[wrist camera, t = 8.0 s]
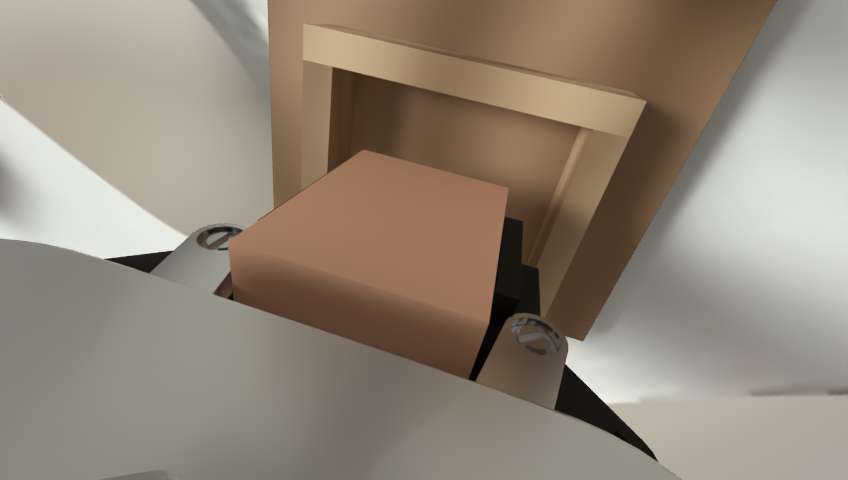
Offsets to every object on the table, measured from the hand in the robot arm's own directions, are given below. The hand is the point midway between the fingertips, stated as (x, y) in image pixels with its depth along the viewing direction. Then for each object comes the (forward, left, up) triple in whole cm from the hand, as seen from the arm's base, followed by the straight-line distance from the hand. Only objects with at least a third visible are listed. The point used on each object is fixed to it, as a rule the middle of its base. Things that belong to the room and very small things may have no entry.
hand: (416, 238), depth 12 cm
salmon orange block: (0, 0, -1) cm, 1 cm away
